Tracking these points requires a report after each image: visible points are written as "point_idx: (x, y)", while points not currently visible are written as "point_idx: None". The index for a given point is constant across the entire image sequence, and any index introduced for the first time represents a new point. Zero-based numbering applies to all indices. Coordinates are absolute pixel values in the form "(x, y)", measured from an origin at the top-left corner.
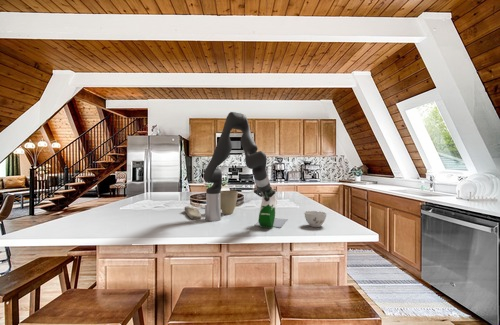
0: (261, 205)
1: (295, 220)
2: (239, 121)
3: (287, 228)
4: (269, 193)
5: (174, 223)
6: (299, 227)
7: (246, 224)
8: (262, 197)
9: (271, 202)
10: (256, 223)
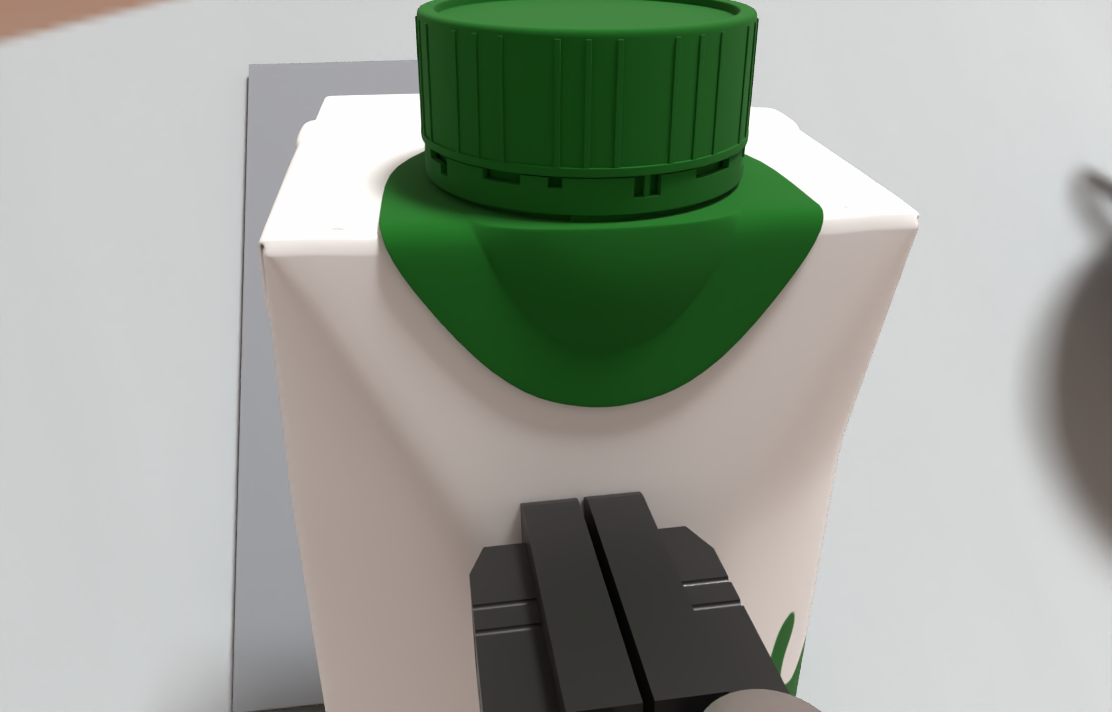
0: (346, 672)
1: (805, 65)
2: None
3: (915, 642)
4: (625, 207)
5: None
6: (1058, 483)
7: (32, 669)
8: (278, 378)
9: (755, 607)
10: (240, 557)
